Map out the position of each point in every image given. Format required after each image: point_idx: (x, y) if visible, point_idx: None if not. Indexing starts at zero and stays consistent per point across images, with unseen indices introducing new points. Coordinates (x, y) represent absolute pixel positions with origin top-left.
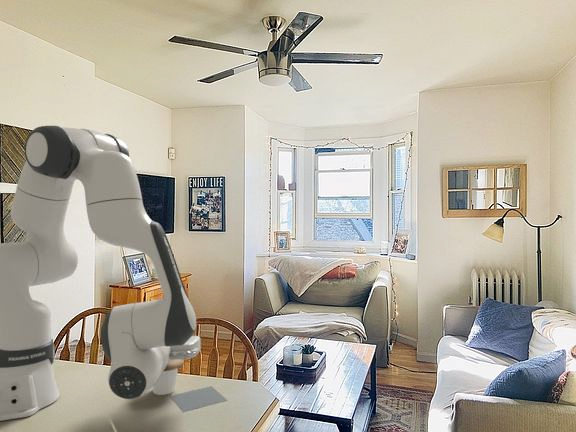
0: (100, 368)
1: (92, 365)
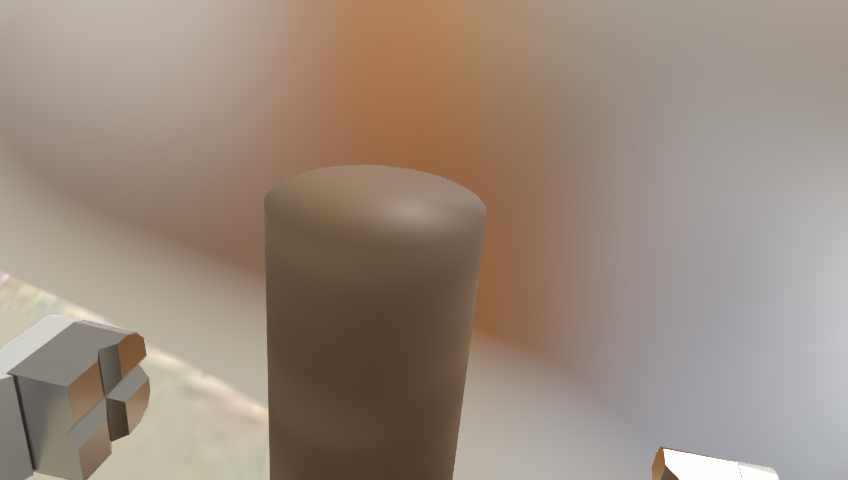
0: (28, 326)
1: (10, 289)
